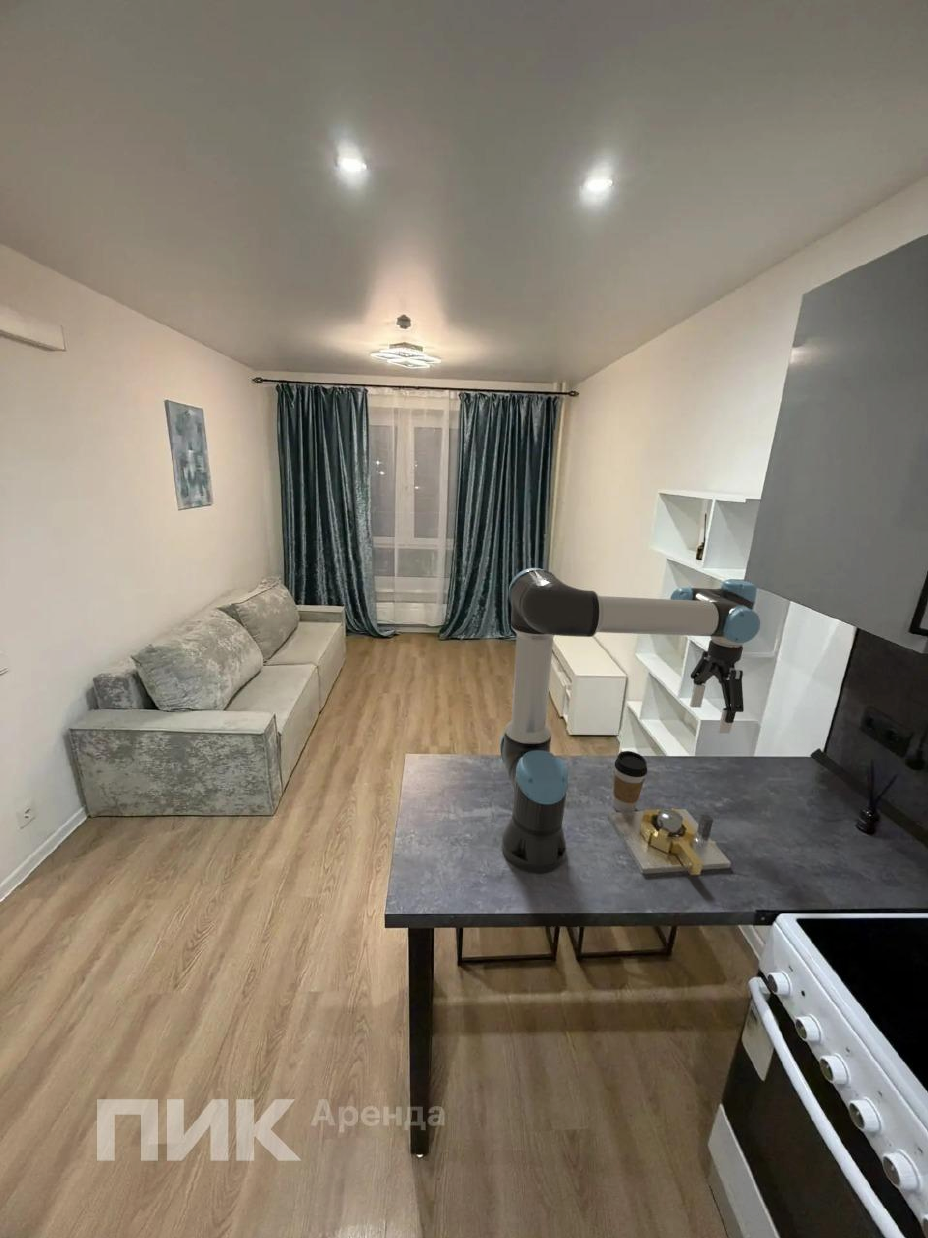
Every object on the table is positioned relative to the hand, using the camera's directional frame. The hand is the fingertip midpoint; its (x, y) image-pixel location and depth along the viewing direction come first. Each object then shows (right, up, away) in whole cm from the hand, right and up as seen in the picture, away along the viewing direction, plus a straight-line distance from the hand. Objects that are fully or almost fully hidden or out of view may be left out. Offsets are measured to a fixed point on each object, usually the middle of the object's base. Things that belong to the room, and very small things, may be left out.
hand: (708, 719), depth 130 cm
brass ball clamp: (-13, -29, -9) cm, 33 cm away
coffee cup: (-20, -25, +6) cm, 33 cm away
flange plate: (-14, -29, -6) cm, 33 cm away
